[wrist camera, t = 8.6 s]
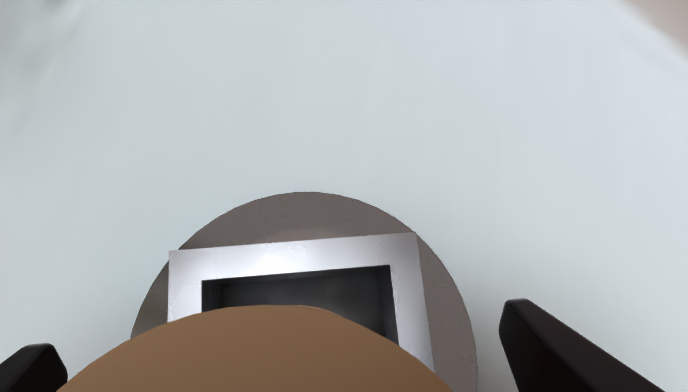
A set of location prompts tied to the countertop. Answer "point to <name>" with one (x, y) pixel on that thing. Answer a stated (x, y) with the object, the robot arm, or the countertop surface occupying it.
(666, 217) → the countertop surface
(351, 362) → the pin
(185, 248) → the square socket on disc
